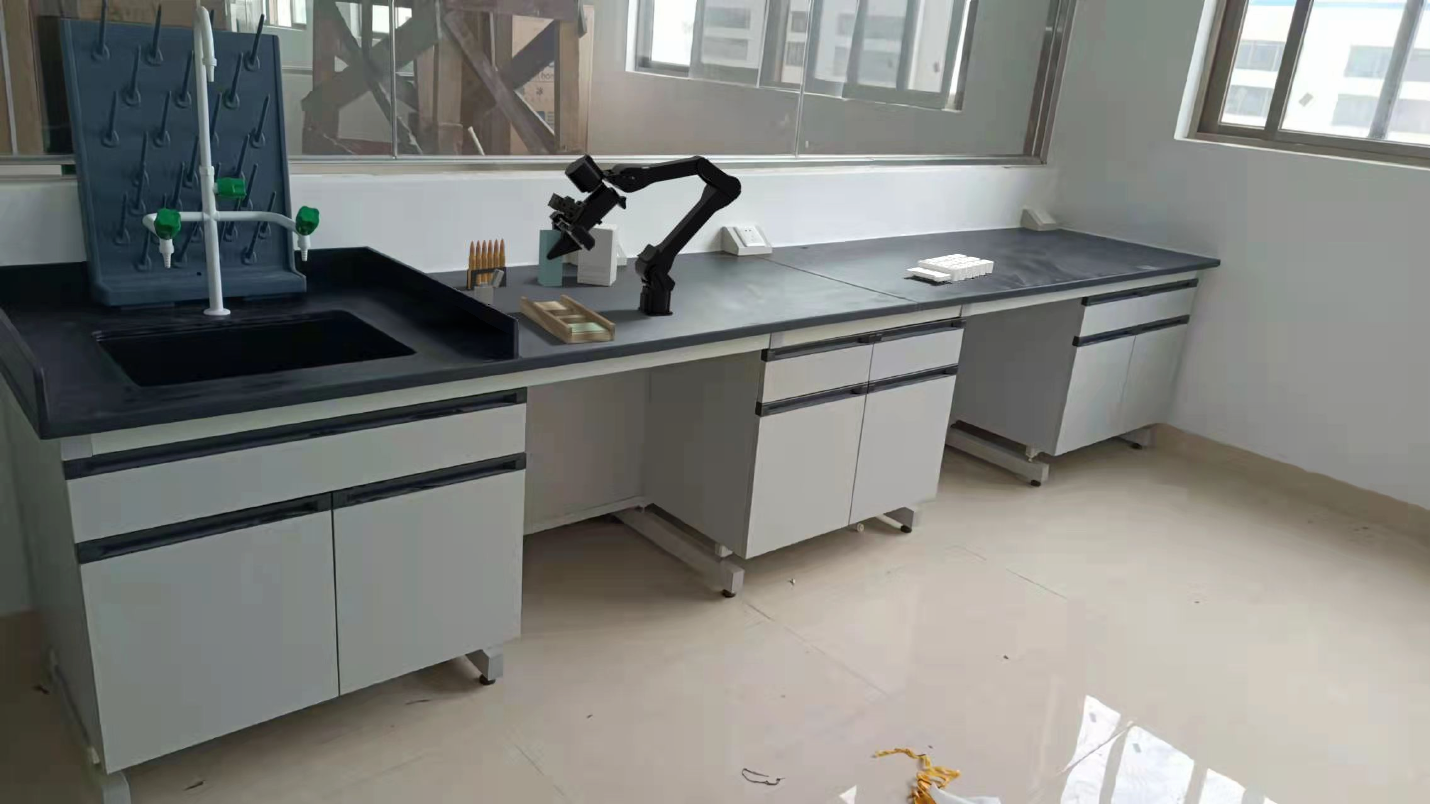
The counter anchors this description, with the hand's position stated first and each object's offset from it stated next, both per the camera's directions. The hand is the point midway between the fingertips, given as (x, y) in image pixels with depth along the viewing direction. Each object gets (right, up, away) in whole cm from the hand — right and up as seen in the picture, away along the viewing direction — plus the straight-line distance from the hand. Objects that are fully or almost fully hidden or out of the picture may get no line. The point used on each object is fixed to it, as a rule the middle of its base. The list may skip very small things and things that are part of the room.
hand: (544, 256), depth 223 cm
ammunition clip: (-18, -5, +23) cm, 30 cm away
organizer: (+112, +7, +94) cm, 147 cm away
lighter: (-15, -10, +9) cm, 20 cm away
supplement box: (+7, -1, +41) cm, 42 cm away
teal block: (+1, -6, +3) cm, 7 cm away
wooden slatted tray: (+5, -15, -2) cm, 16 cm away
